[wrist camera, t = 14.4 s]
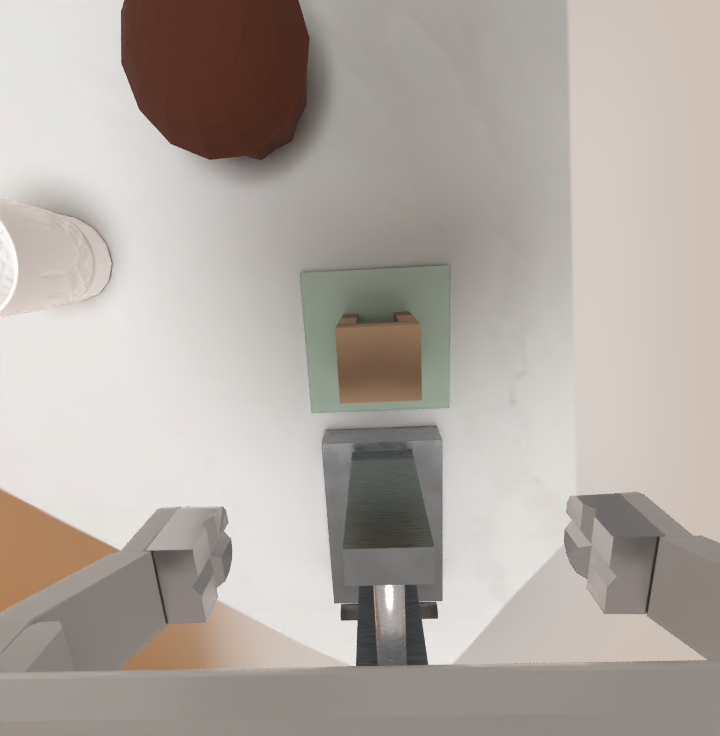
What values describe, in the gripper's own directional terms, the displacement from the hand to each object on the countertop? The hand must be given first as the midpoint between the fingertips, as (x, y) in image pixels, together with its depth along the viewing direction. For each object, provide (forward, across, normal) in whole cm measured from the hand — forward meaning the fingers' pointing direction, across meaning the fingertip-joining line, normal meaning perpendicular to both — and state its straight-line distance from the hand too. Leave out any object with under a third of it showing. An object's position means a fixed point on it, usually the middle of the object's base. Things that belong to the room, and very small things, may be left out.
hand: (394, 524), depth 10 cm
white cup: (+26, +25, -8) cm, 37 cm away
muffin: (+26, +9, -19) cm, 33 cm away
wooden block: (+25, 0, 0) cm, 25 cm away
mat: (+26, 0, 0) cm, 26 cm away
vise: (+25, 0, +16) cm, 30 cm away
